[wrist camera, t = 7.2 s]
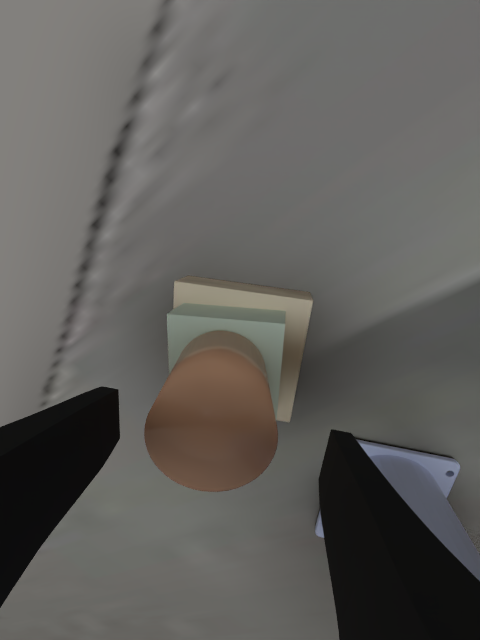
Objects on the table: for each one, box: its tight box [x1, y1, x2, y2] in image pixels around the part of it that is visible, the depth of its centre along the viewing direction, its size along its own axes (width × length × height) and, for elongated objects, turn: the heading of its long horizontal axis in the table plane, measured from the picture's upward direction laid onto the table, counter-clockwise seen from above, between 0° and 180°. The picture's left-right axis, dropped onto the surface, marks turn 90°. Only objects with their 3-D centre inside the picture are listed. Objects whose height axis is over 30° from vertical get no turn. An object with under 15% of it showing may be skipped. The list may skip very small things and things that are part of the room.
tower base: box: [173, 276, 313, 423], centre depth 19 cm, size 8×8×3 cm
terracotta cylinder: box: [144, 331, 278, 492], centre depth 12 cm, size 5×5×5 cm
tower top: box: [167, 303, 286, 421], centre depth 16 cm, size 6×6×2 cm
